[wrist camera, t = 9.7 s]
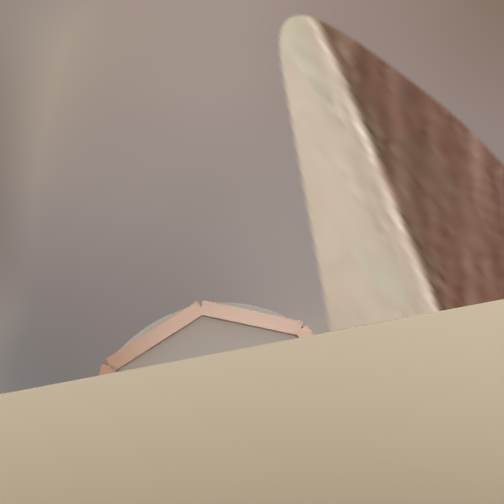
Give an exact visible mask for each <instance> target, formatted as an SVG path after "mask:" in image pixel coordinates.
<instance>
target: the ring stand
mask: <svg viewBox="0 0 504 504" xmlns="http://www.w3.org/2000/svg"><path fill="white" fill-rule="evenodd" d="M311 335H314V334H313V332H312V331H311V330H310V328H309V327H308V325H306V326H304V327H302V321H298V320H293V319H289V318H287V317H285V316H283V315H280V314H278V313H276V312H274V311H271V310H268V309H264V308H261V307H257V306H254V305H247V304H240V303H214V302H209V301H204V300H203V301H202V305H199V303H198V302H195V303H194V304H192V305H190V306H189V307H187V308H185V309H182V310H180V311H177V312H174V313H172V314H169V315H166V316H165V317H163V318H161V319H159V320H157V321H155V322H154V323H152V324H150V325H148V326H147V327H146V328H144V329H143V330H142V331H140V332H139V333H137V334H136V335H135V336H134V337H132V338H131V339H130V340H129V341H128V342H127V343H126V344H125V345H124V346H123V347H122V348H121V349H120V350H119V351H117V352H116V353H114V354H113V355H111V356H109V357H108V358H107V359H106V360H107V362H108V364H107V365H106V364H102V365H101V369H100V372H99V376H100V375H105V374H110V373H115V372H121V371H126V370H131V369H137V368H142V367H147V366H153V365H158V364H163V363H168V362H174V361H179V360H184V359H190V358H195V357H200V356H206V355H211V354H216V353H221V352H227V351H232V350H237V349H243V348H248V347H253V346H258V345H264V344H269V343H274V342H280V341H285V340H290V339H296V338H301V337H306V336H311Z"/></svg>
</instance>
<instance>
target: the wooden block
mask: <svg viewBox="0 0 504 504" xmlns="http://www.w3.org/2000/svg"><path fill="white" fill-rule="evenodd" d="M0 504H504V299H502V300H497V301H491V302H486V303H481V304H476V305H470V306H465V307H460V308H454V309H449V310H444V311H439V312H433V313H428V314H423V315H417V316H412V317H407V318H401V319H396V320H391V321H386V322H380V323H375V324H370V325H364V326H359V327H354V328H348V329H343V330H338V331H333V332H328V333H322V334H317V335H311V336H306V337H301V338H296V339H290V340H285V341H280V342H274V343H269V344H264V345H258V346H253V347H248V348H243V349H237V350H232V351H227V352H221V353H216V354H211V355H206V356H200V357H195V358H190V359H184V360H179V361H174V362H168V363H163V364H158V365H153V366H147V367H142V368H137V369H131V370H126V371H121V372H115V373H110V374H105V375H100V376H94V377H89V378H84V379H78V380H73V381H68V382H63V383H57V384H52V385H47V386H41V387H36V388H31V389H26V390H20V391H15V392H10V393H4V394H0Z"/></svg>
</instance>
